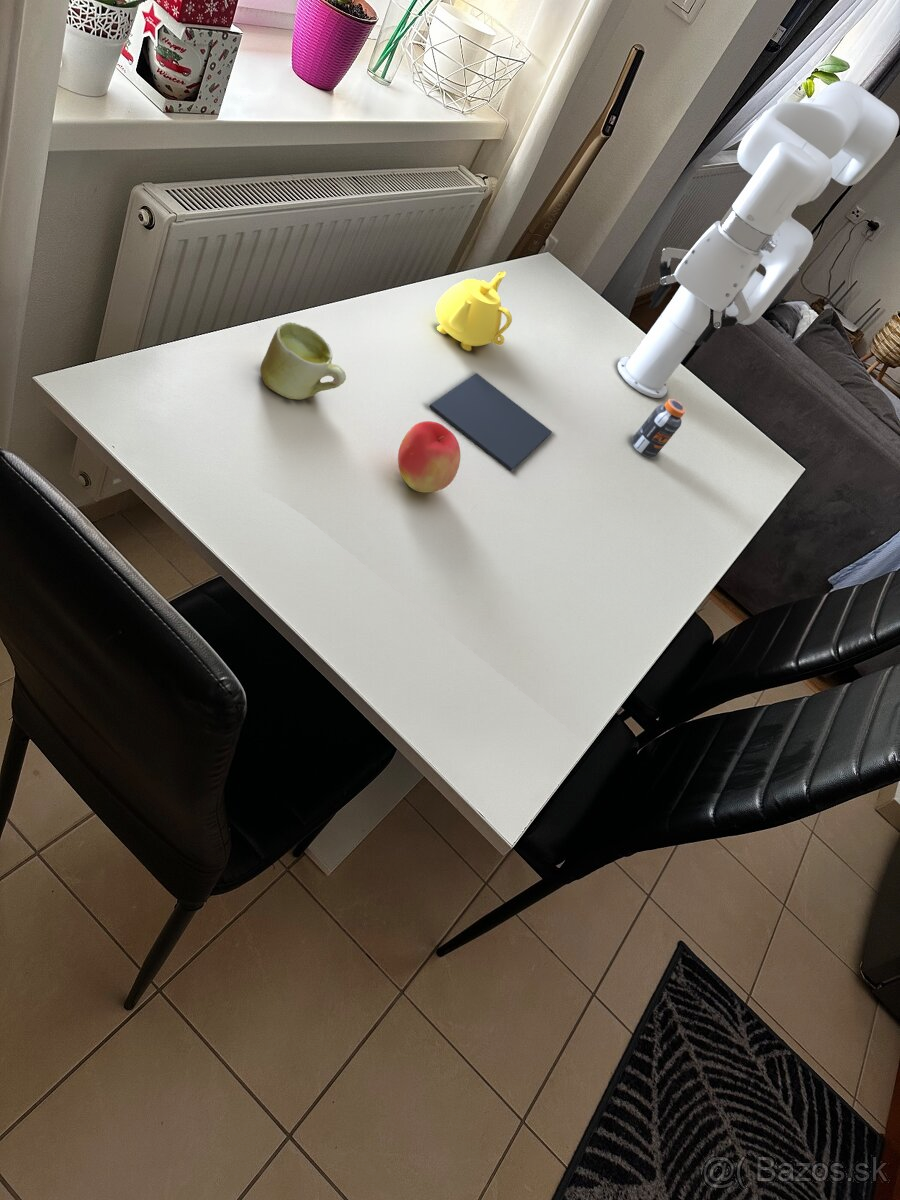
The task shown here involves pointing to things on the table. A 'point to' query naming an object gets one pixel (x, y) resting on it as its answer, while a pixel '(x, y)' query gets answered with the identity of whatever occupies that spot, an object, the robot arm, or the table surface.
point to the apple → (428, 457)
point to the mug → (299, 363)
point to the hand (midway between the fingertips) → (675, 324)
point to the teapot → (473, 312)
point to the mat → (491, 420)
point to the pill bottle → (658, 428)
